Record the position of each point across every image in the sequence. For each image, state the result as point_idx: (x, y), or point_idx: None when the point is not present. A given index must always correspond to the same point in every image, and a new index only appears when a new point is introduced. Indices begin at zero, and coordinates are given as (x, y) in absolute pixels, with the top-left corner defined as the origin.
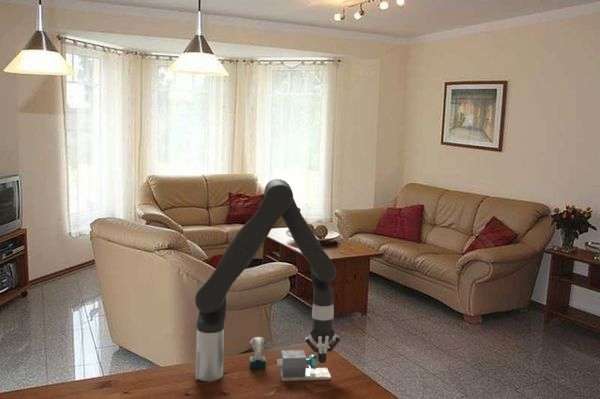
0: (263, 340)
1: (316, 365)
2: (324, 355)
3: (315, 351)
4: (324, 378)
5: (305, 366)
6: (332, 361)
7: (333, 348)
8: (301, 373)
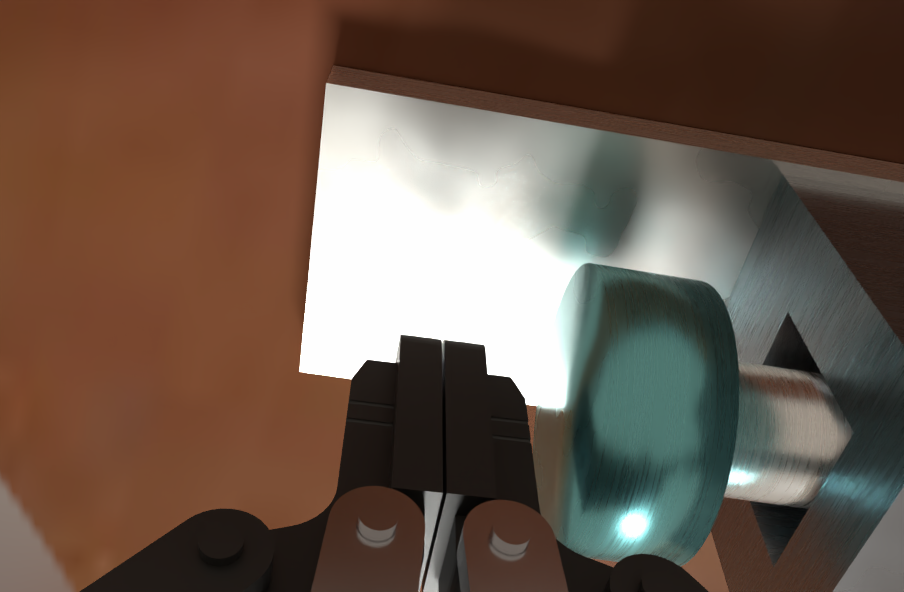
0: None
1: (606, 281)
2: (398, 452)
3: (658, 571)
4: (447, 91)
5: (864, 283)
6: (167, 527)
7: (102, 577)
8: (880, 216)
